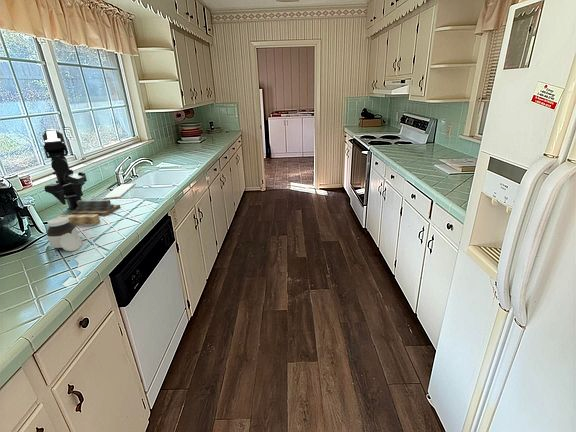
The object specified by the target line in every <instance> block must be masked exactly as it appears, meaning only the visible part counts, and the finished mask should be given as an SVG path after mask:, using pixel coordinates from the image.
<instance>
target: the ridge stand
mask: <svg viewBox="0 0 576 432" xmlns="http://www.w3.org/2000/svg"><path fill="white" fill-rule="evenodd" d="M77 205H78V207H77V208H76V209H74V210H72V211H71V212H70V213H69V215H90V214H98V216H108V215H109V214H111V213H113V212H115V211H116V210H119V209H120V208H121V205H120V204H113V203H111V199H103V200H102V199H82V200H79V201H77Z"/></svg>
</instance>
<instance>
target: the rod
mask: <svg viewBox="0 0 576 432" xmlns="http://www.w3.org/2000/svg"><path fill="white" fill-rule="evenodd" d="M59 217H68V219H69V222H71V223H73V224H74V225H75V226H76V225H97V224H98V223H100V222H101V219H100V215H98V214H90V215H71V214H59V215H57V216H56V217H54V219H55V218H59Z"/></svg>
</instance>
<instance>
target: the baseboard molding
mask: <svg viewBox="0 0 576 432" xmlns="http://www.w3.org/2000/svg"><path fill="white" fill-rule="evenodd" d="M118 185H120V186H118ZM118 185H117V187H115V188H114V189H113V190H111V191H110V192H108V194H106V195H105V196H104V197H102V198H101V200H113V199H120V198H121V197H123V196H124V195H125V194H126V193H127V192H129V190H131V189H132V188H133V187H134V186H135V185H136V183H135V182H129V183H128V181H125V182H124V183H118Z"/></svg>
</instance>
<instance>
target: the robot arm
mask: <svg viewBox="0 0 576 432" xmlns="http://www.w3.org/2000/svg"><path fill="white" fill-rule="evenodd" d="M57 129H58V128H57ZM57 129H53V128H51V129H45V130H44V133H43V134H42V139H43V143H44V144H42V146H43V149H44V153H45V156H46V159H50V162H51V164H50V166H51V168H52V170H53V172H52V174H53V175H54V176H55V177H56V180H55V183H50V184H47V185H44V188H43V189H44V192H45V193H48V194H51V195H52V196H53V197H55V199H57V200H58V201H59V202H60V203H61V204H62V205H66V204H67V205H68V207H67V208H66V209H67V210H77V209H76V208H77V207H78V205H77V201H79V200H83V199H82V196H84V194H83V186H84V185H85V184H86V182H87V181H88V180H87V177H86V173H85V171H79V172H77V173H75V172H74V170H73V169H70V166H69V163H68V160H67V156H68V154H69V151H68V147H67V143H66V142H65V138H64V135H63V133H61V132H60V131H58V130H57ZM66 202H67V203H66Z"/></svg>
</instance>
